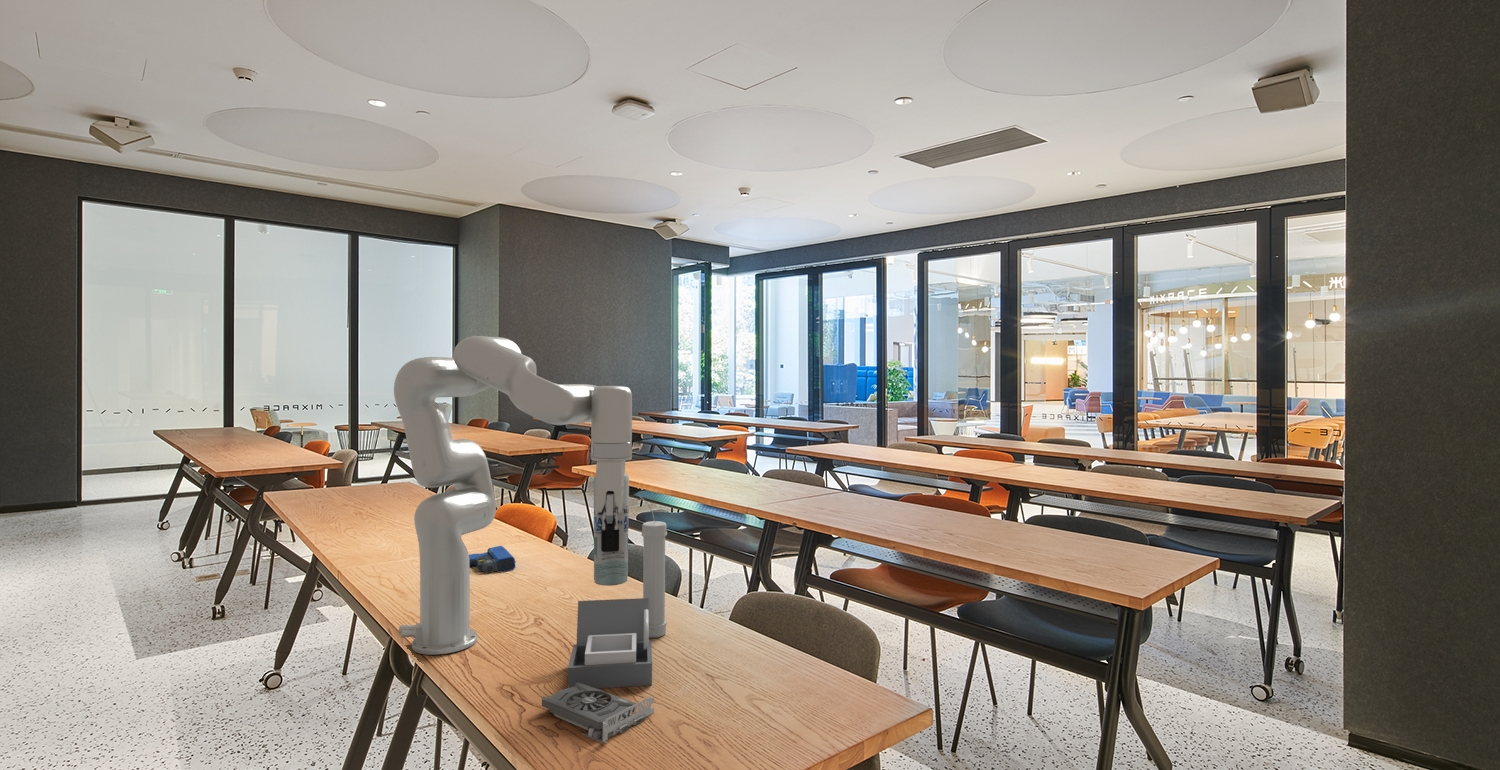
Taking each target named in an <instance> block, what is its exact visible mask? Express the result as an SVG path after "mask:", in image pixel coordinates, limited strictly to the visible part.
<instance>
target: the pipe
mask: <svg viewBox="0 0 1500 770" xmlns="http://www.w3.org/2000/svg"><path fill="white" fill-rule="evenodd" d="M639 498H640V499H641V500H642V501H644V502H645V504H647V506H648V507H649V509H650V511H651V513H652V514H651V515H652V518H653V520H652V521H646V522H644V523H642V525H641V527H642V528H641V536H642V537H643V538H642V539H643V540H642V541H643V548H642V549H643V551H642V553H643V555H642V556H643V564H642V566H643V567H642V568H643V572H642V573H643V577H642V578H643V579H642V582H643V583H642V591H643V592H642V598H649V638H650V639H651V638H652V639H653V638H660V637H663V636H664V635H665V634H666V633H667V624H668V621H667V620H666V615H665V614H666V613H665V612H666V601H665V600H666V537H667V535H668V531H667V523H666V522H664V521H658V520H655V515H654V511H653V510H652V507H651V506H650V504H649V503H648V501H646V500H645V499H644V498H643V497H641V496H639Z"/></svg>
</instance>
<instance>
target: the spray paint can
mask: <svg viewBox="0 0 1500 770" xmlns="http://www.w3.org/2000/svg"><path fill="white" fill-rule="evenodd" d="M595 488H596V474H594V477H593V580H594V581H593V582H594V583H595V584H596V585H599V586H603V587H604V586H606V587H607V586H609V587H611V586H618V585H619V586H620V585H622V584H623V585H624V584H625V583H627V582H628V577H629V576H628V573H629V571H628V570H629V514H630V513H629V512H630V511H629V504H630V502H629V501H630V500H629V499H630V497H629V495H630V478H629V474H628V473H625V476H624V496H623V506H622V512H621V513H620V514H618V529H619V551H617V552H602V551H601V530H602V526H603V510H602V512H601V513H598V514H599V515H597V514H596V513H595ZM613 512H616V509H614V508H613ZM605 513H606V509H605ZM614 518H615V517H614Z"/></svg>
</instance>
